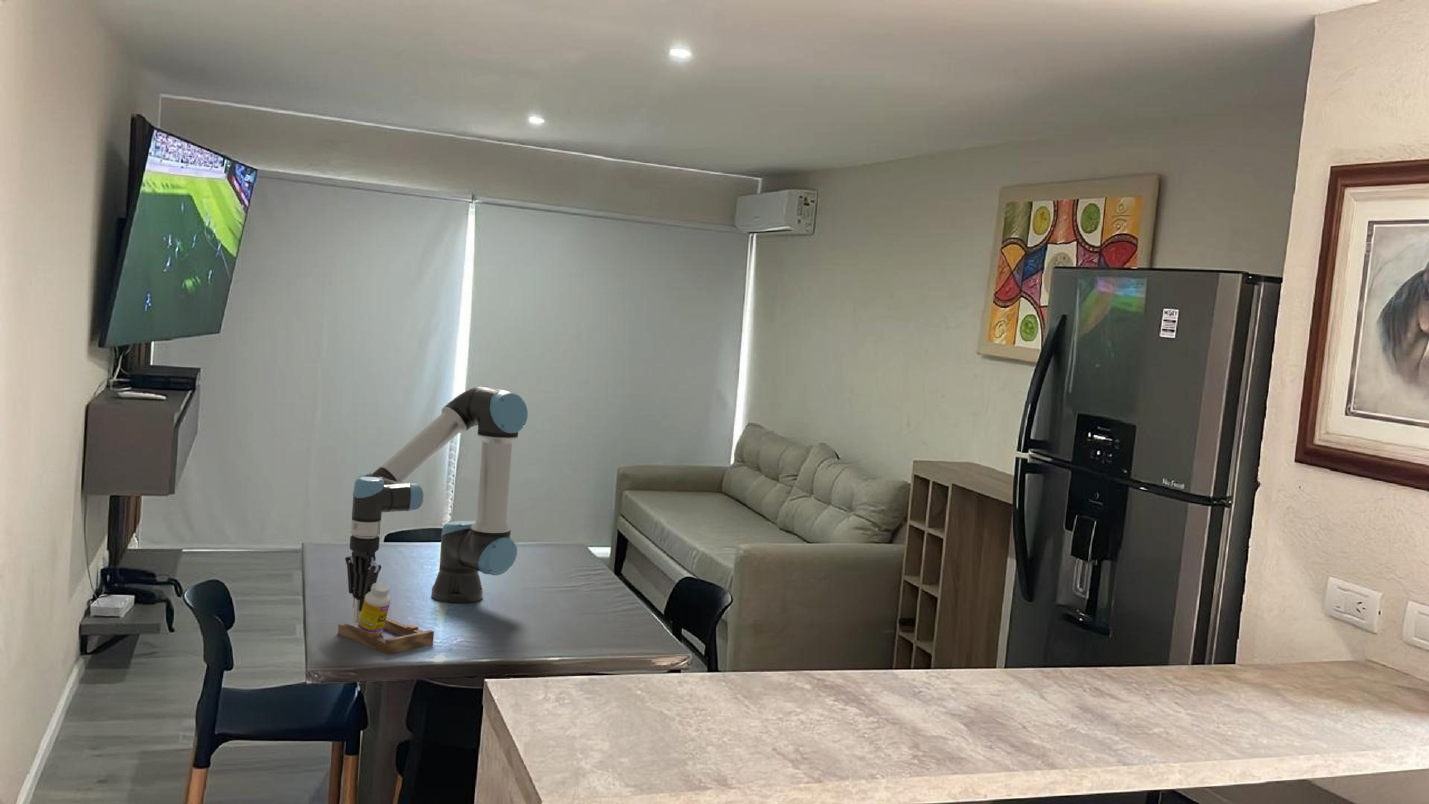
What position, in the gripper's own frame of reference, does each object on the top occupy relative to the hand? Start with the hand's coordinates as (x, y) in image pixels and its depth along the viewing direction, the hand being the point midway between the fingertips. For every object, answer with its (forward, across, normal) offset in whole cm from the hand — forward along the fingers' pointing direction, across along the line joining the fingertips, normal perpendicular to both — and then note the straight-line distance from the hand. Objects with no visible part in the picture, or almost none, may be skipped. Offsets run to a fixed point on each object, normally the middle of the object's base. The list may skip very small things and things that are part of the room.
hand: (358, 621), depth 304 cm
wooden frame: (+2, +11, 0) cm, 11 cm away
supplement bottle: (+1, +5, 0) cm, 5 cm away
